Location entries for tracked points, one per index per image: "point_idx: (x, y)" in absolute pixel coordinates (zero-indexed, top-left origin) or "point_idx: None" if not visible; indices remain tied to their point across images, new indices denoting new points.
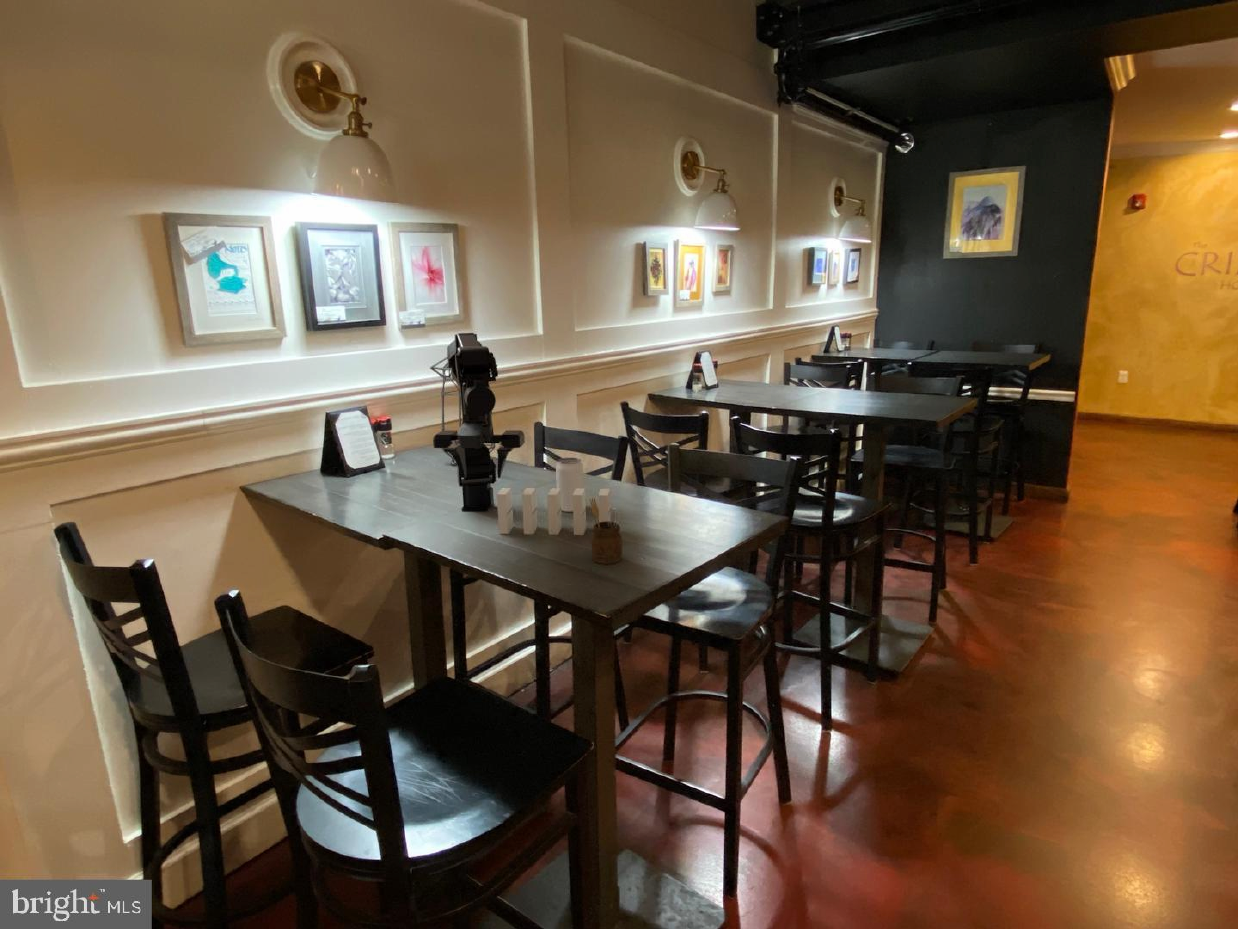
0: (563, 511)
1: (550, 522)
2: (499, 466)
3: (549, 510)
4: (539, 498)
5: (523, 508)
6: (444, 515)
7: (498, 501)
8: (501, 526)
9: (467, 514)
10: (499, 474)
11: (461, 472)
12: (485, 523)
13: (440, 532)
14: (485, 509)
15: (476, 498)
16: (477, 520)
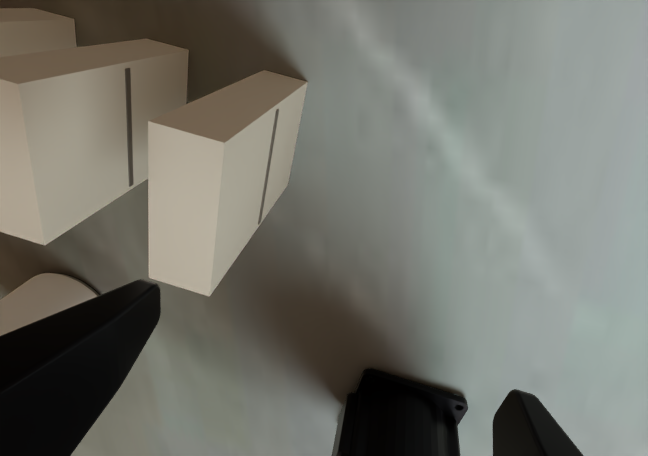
0: (89, 286)
1: (13, 19)
2: (10, 353)
3: None
4: (195, 420)
5: (95, 66)
6: (544, 377)
7: (237, 123)
8: (283, 85)
9: (446, 360)
10: (112, 297)
11: (574, 452)
12: (374, 241)
13: (610, 172)
14: (371, 373)
15: (402, 427)
16: (408, 285)
